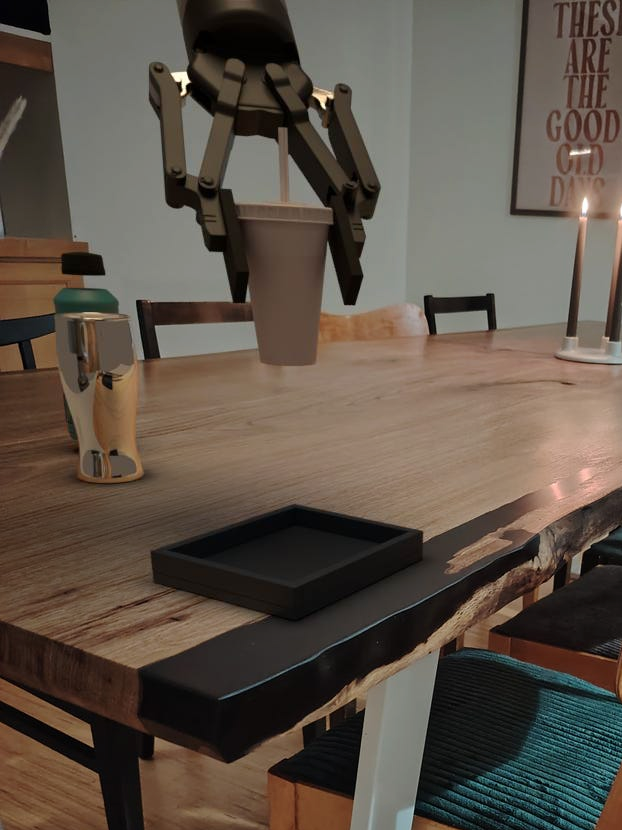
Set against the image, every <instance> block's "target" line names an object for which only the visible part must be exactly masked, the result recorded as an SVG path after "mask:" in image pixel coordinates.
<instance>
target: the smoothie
mask: <svg viewBox="0 0 622 830" xmlns="http://www.w3.org/2000/svg"><path fill="white" fill-rule="evenodd" d="M278 140H279V145H278V164H279V169H278V170H279V191H280V192H279V193H280V194H279V196H280V201H262V202H238V201H237V202H234V203H235V208H236V212H237V217H238V222H239V226H240V231H241V235H242V240H243V245H244V249H245V254H246V258H247V263H248V268H249V272H250V273H249V280H248V287H247V289H248V294H249V299H250V305H251V306H250V307H251V312H252V319H253V324H254V331H255V337H256V342H257V347H258V348H257V350H258V354H259V361H260V363H261V364H264V365H270V366H281V367H305V366H313V365H316V364H317V358H318V357H317V355H318V347H319V335H320V323H321V314H322V306H323V305H322V304H323V293H324V291H323V290H324V284H325V273H326V272H325V271H326V262H327V254H328V232H329V225H334V223H333V210H332V209H331V208H327V207H324V206H315V205H314V206H313V205H308V204H307V203H302V202H301V203H299V202H290V201H291V200H290V174H289V172H290V171H289V155H288V136H287V128H284V127H278Z"/></svg>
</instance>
